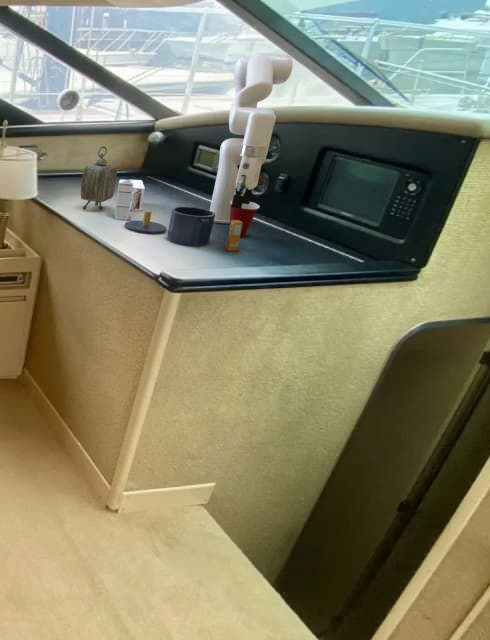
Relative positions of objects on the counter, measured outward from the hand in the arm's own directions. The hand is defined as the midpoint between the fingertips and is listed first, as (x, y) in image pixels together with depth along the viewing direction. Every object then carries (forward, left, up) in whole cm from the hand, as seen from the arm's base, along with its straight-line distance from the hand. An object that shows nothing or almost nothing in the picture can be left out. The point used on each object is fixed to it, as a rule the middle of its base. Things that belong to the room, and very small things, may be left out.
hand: (240, 205), depth 202 cm
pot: (+11, -11, -15) cm, 22 cm away
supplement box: (0, 0, -16) cm, 16 cm away
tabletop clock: (+31, -58, -16) cm, 68 cm away
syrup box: (+25, -43, -16) cm, 52 cm away
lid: (+21, -27, -15) cm, 37 cm away
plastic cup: (-13, -19, -16) cm, 28 cm away
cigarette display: (+12, -64, -16) cm, 67 cm away
